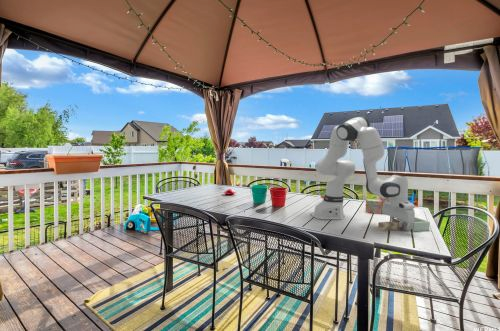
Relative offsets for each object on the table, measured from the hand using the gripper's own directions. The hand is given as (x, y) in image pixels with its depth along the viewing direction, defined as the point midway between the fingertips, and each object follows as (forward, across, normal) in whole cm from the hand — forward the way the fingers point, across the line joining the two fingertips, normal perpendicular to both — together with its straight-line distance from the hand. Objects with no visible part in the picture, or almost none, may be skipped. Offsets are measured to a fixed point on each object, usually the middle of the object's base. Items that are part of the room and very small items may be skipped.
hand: (396, 225), depth 143 cm
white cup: (+2, 0, +6) cm, 7 cm away
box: (+2, 0, +11) cm, 11 cm away
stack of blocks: (+2, -31, +16) cm, 35 cm away
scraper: (+2, 0, -5) cm, 5 cm away
